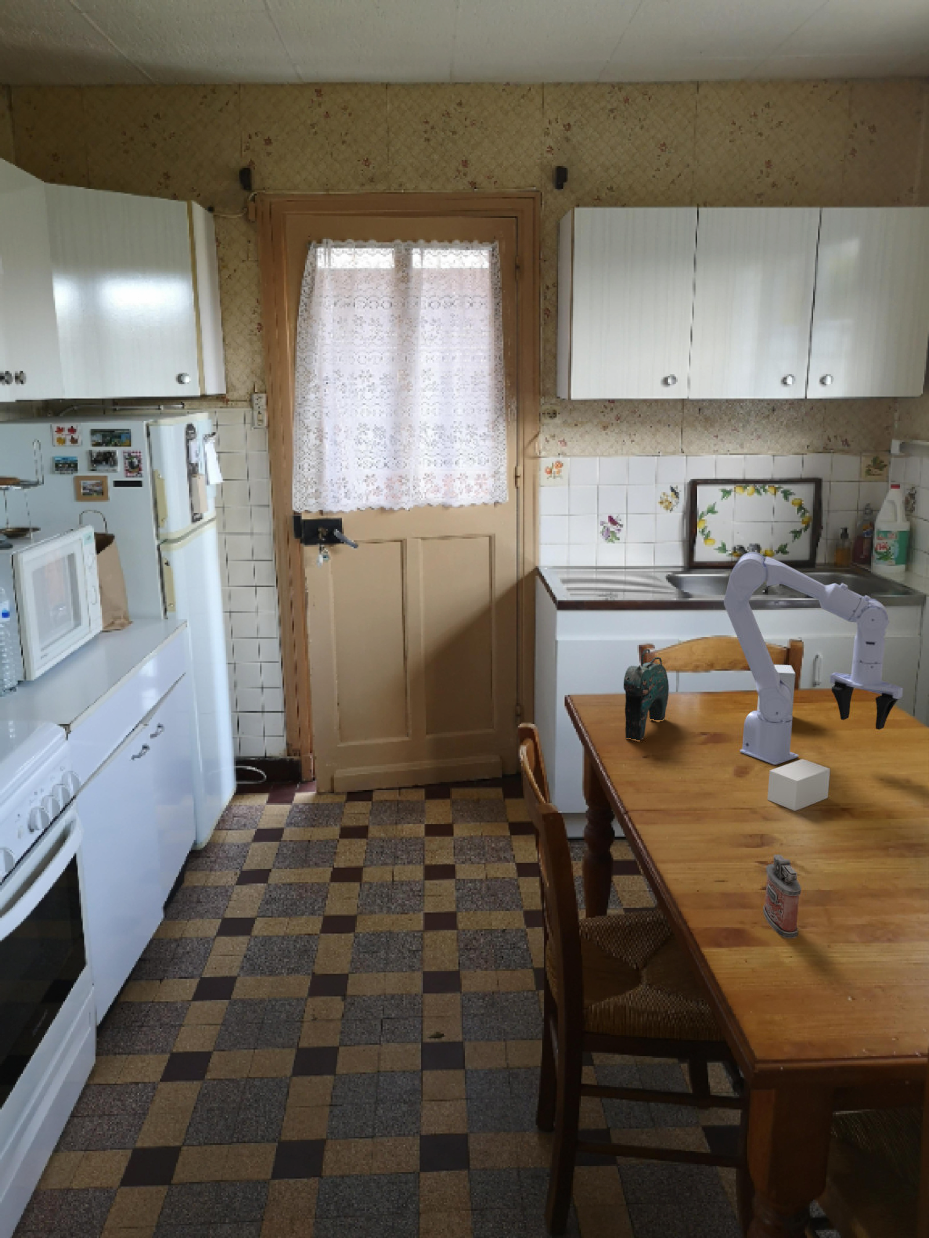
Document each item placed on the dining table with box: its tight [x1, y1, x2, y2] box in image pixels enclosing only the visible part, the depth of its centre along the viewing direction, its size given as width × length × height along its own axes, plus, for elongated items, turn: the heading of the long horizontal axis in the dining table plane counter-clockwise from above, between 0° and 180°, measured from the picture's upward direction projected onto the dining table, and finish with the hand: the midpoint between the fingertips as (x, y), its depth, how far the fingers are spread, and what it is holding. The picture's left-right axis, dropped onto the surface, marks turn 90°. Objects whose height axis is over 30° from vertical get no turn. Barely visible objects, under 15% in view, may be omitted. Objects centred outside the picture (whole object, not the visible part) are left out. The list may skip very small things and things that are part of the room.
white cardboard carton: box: [767, 758, 831, 812], centre depth 182 cm, size 10×6×6 cm, turn 124°
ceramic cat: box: [623, 648, 670, 741], centre depth 219 cm, size 20×6×20 cm, turn 148°
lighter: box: [762, 854, 802, 939], centre depth 139 cm, size 8×3×10 cm, turn 5°
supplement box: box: [756, 664, 796, 715], centre depth 226 cm, size 7×7×13 cm
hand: (861, 723), depth 196 cm, fingers open, 7 cm apart
